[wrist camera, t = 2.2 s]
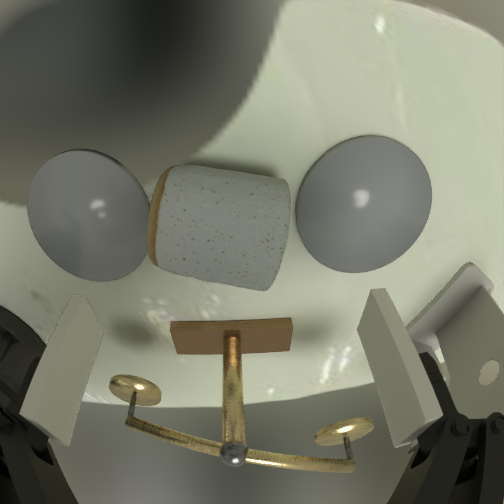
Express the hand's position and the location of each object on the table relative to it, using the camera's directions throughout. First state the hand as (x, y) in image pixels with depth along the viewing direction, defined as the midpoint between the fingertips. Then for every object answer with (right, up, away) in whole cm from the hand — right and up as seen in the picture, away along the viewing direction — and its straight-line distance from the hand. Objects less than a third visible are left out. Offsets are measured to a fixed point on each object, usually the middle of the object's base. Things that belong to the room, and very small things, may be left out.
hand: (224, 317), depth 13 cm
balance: (-1, -6, +17) cm, 18 cm away
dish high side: (+11, +6, +9) cm, 16 cm away
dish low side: (-12, +6, +9) cm, 16 cm away
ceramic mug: (-1, +6, +10) cm, 11 cm away
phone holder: (+26, -6, +19) cm, 33 cm away
